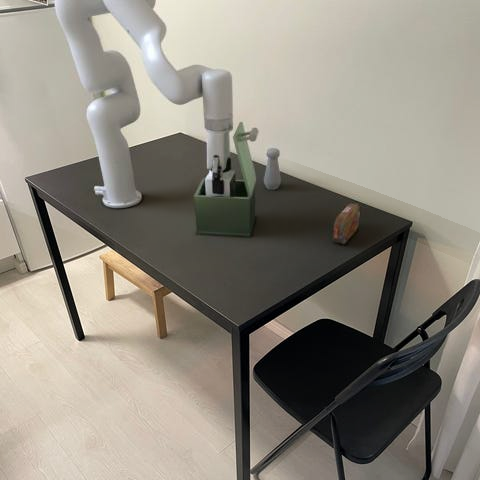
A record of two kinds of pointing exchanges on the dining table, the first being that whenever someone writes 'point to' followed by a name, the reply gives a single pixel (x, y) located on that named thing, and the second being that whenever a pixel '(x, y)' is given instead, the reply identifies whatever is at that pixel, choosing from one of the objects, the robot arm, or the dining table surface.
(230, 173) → the medicine bottle
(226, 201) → the bin
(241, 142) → the bin lid
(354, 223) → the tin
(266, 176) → the salt shaker
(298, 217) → the dining table surface
